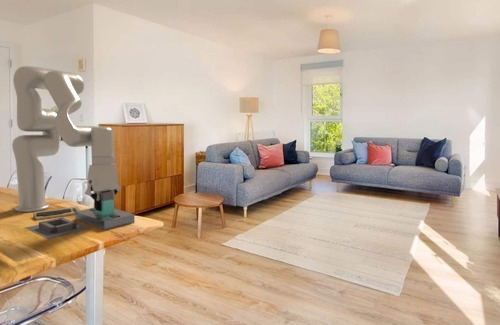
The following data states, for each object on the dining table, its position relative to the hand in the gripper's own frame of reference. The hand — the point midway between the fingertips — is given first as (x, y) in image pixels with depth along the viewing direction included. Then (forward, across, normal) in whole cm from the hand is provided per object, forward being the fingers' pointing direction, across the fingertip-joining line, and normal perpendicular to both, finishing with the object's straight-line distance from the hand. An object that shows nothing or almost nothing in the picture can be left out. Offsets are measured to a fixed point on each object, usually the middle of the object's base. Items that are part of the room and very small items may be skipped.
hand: (104, 208), depth 127 cm
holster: (+6, +15, -4) cm, 17 cm away
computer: (+6, +7, -21) cm, 23 cm away
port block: (+6, 0, 0) cm, 6 cm away
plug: (+3, 0, 0) cm, 3 cm away
